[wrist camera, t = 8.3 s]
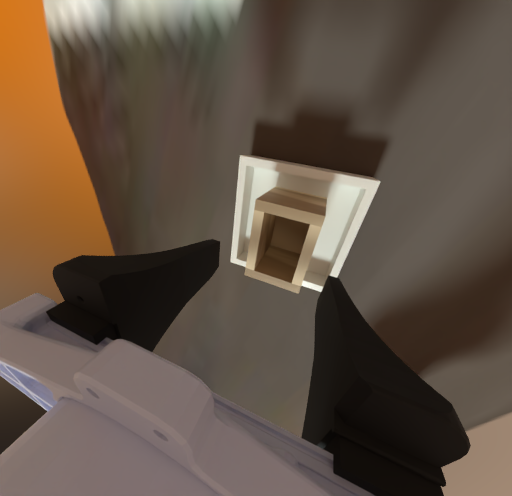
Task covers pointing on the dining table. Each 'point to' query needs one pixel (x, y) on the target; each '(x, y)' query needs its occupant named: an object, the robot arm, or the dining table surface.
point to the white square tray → (311, 182)
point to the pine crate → (284, 236)
